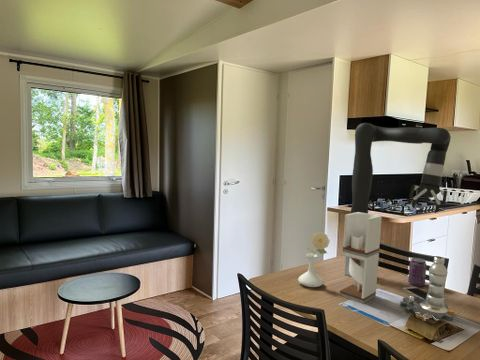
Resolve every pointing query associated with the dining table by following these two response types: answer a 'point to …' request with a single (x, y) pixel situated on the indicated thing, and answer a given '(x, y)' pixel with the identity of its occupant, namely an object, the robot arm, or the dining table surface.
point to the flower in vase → (310, 276)
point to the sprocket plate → (425, 308)
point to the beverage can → (417, 272)
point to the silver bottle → (436, 283)
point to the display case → (362, 254)
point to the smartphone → (417, 292)
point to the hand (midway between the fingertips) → (424, 210)
